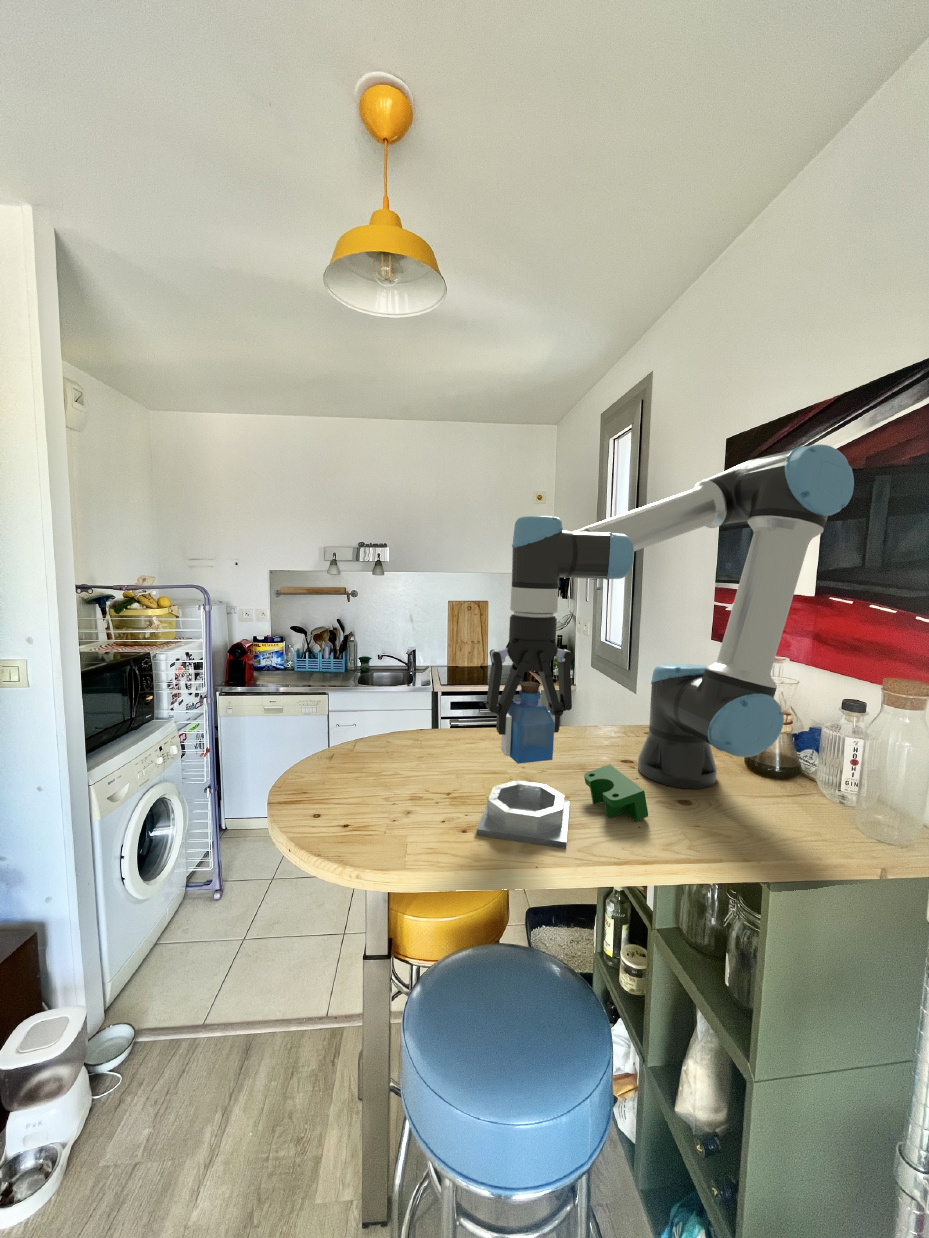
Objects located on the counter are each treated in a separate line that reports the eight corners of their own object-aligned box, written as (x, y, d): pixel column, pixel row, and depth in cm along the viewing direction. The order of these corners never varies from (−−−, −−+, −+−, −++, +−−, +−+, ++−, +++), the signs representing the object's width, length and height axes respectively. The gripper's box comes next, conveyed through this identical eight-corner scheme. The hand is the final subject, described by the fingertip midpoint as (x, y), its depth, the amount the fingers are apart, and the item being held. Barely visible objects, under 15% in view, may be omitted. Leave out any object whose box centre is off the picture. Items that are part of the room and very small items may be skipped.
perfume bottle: (535, 746, 89) (538, 678, 88) (552, 759, 84) (556, 687, 82) (502, 749, 87) (505, 680, 86) (517, 763, 81) (521, 689, 80)
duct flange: (569, 806, 92) (570, 784, 91) (566, 848, 78) (567, 823, 78) (492, 796, 95) (493, 775, 95) (476, 834, 82) (477, 811, 81)
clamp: (594, 822, 95) (578, 774, 97) (623, 812, 96) (606, 764, 98) (622, 830, 84) (603, 775, 86) (654, 818, 85) (634, 764, 87)
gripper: (580, 612, 88) (573, 741, 91) (469, 611, 84) (464, 746, 87) (600, 617, 81) (591, 757, 84) (479, 616, 77) (474, 763, 80)
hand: (526, 751), depth 85 cm, fingers closed on perfume bottle, 7 cm apart
